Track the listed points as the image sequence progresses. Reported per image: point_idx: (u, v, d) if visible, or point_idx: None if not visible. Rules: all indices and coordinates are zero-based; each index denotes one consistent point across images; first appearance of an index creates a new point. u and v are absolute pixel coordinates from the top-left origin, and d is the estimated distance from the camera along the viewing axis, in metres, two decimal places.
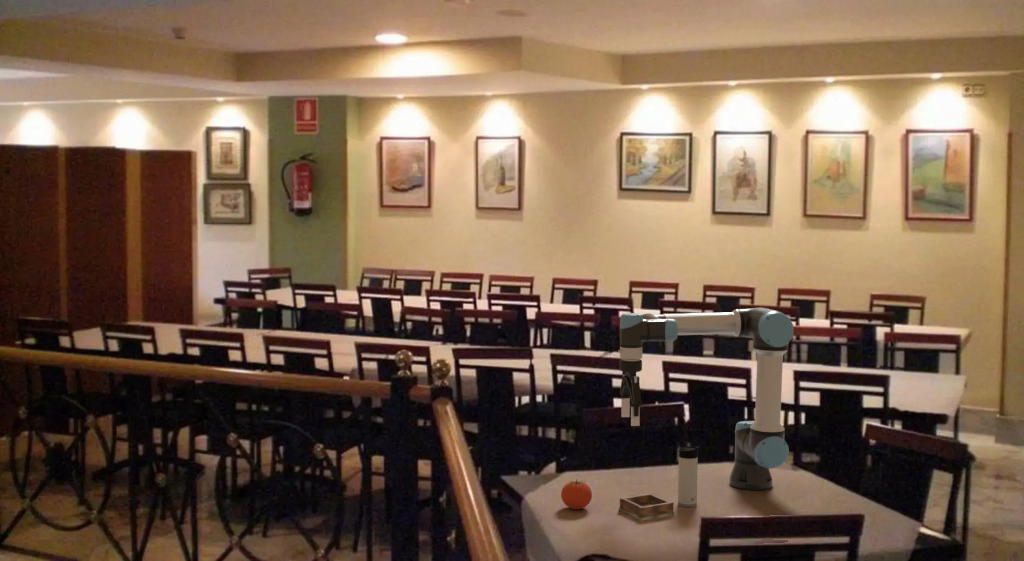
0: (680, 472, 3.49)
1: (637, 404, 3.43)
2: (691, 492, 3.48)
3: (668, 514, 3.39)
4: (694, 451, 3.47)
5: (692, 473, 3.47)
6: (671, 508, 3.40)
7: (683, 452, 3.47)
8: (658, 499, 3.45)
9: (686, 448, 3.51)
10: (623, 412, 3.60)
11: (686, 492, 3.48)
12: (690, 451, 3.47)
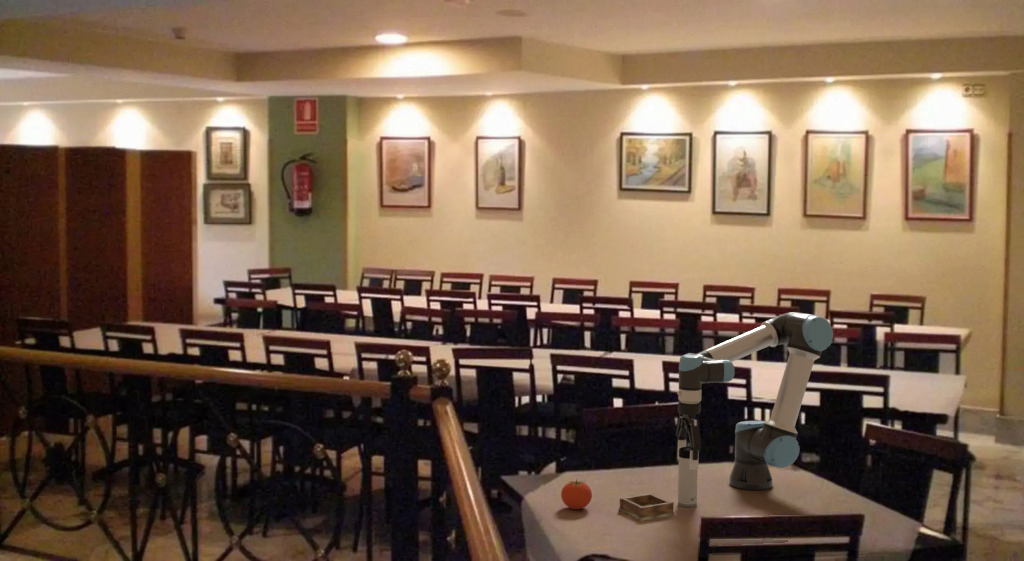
0: (680, 472, 3.49)
1: (697, 448, 3.39)
2: (691, 492, 3.48)
3: (668, 514, 3.39)
4: None
5: (692, 473, 3.47)
6: (671, 508, 3.40)
7: (683, 452, 3.47)
8: (658, 499, 3.45)
9: (686, 448, 3.51)
10: None
11: (686, 492, 3.48)
12: None
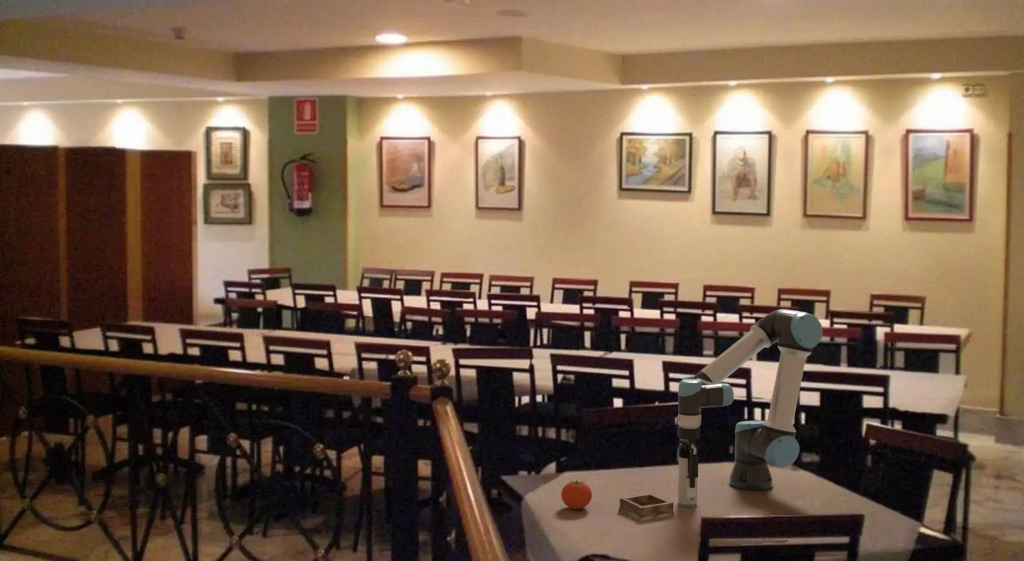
0: (680, 472, 3.49)
1: (694, 476, 3.44)
2: None
3: (668, 514, 3.39)
4: None
5: None
6: (671, 508, 3.40)
7: (683, 452, 3.47)
8: (658, 499, 3.45)
9: None
10: None
11: (686, 492, 3.48)
12: None
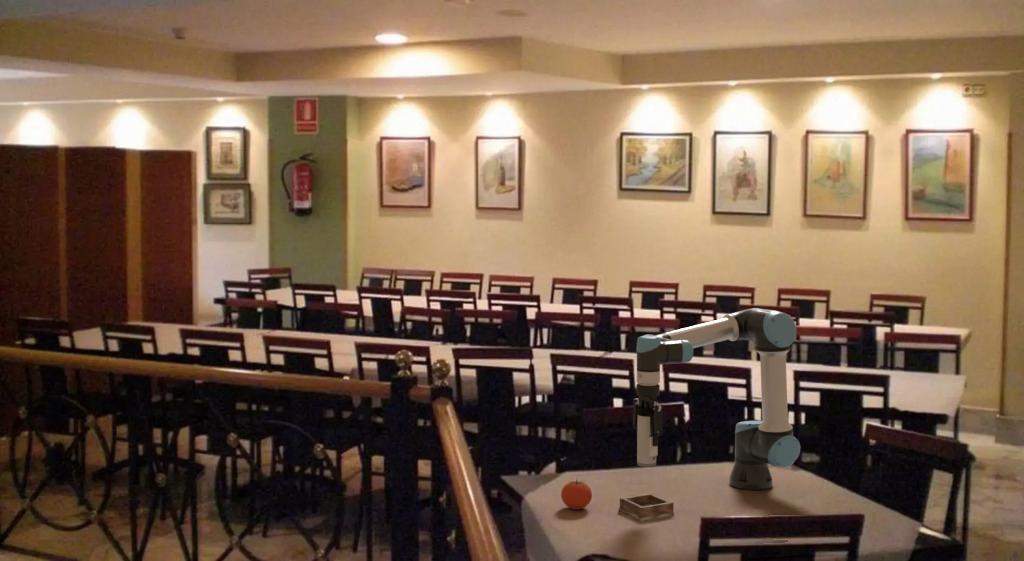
0: (641, 431, 3.38)
1: (659, 434, 3.35)
2: None
3: (668, 514, 3.39)
4: None
5: None
6: (671, 508, 3.40)
7: (645, 410, 3.37)
8: (658, 499, 3.45)
9: None
10: None
11: None
12: (652, 409, 3.37)
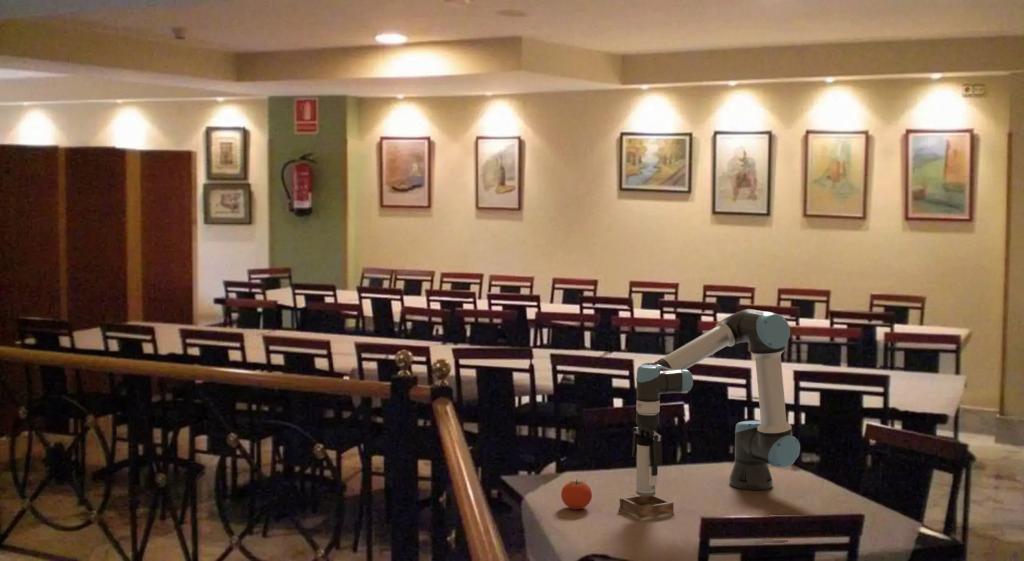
0: (640, 461, 3.39)
1: (658, 463, 3.36)
2: None
3: (668, 514, 3.39)
4: None
5: None
6: (671, 508, 3.40)
7: (644, 440, 3.38)
8: (658, 499, 3.45)
9: None
10: None
11: (648, 480, 3.39)
12: None
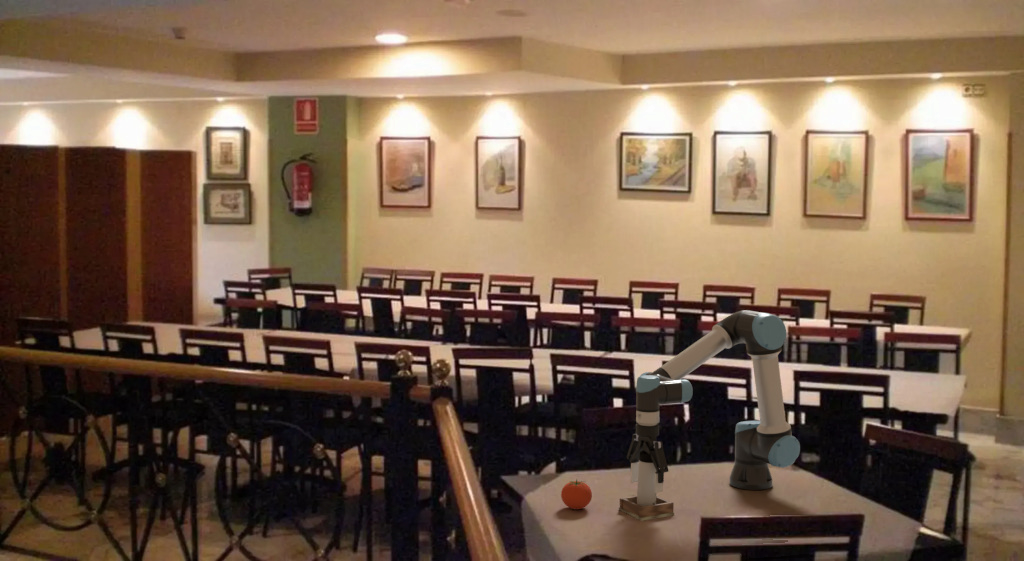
0: (642, 477, 3.39)
1: (664, 470, 3.33)
2: (653, 496, 3.40)
3: (668, 514, 3.39)
4: None
5: (654, 477, 3.39)
6: (671, 508, 3.40)
7: (646, 456, 3.38)
8: (658, 499, 3.45)
9: (645, 452, 3.42)
10: (633, 477, 3.48)
11: (649, 497, 3.39)
12: None
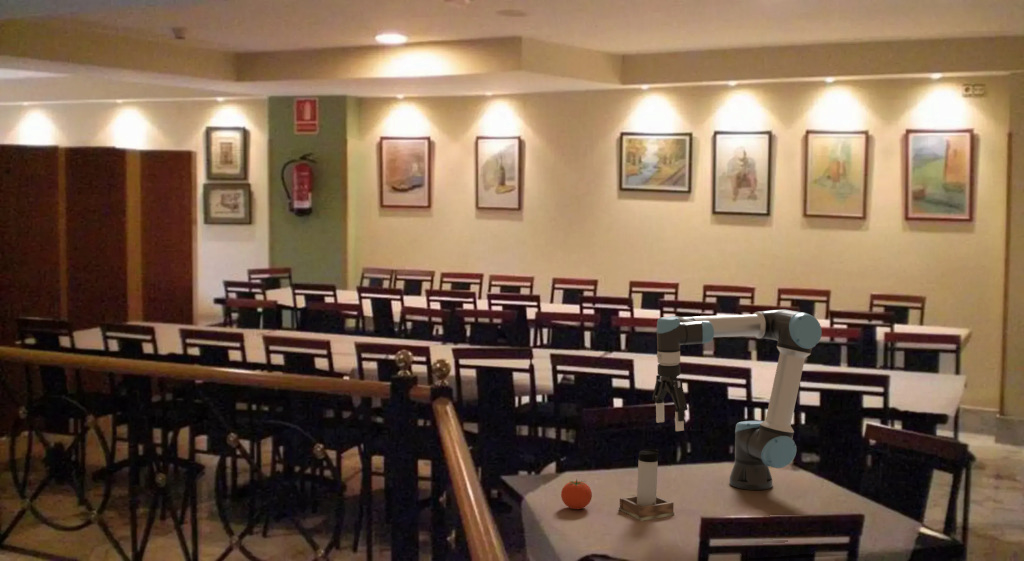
0: (642, 476, 3.40)
1: (683, 409, 3.39)
2: (653, 496, 3.40)
3: (668, 514, 3.39)
4: (656, 454, 3.40)
5: (654, 477, 3.40)
6: (671, 508, 3.40)
7: (646, 456, 3.39)
8: (658, 499, 3.45)
9: (645, 451, 3.43)
10: (658, 417, 3.55)
11: (648, 496, 3.39)
12: (653, 454, 3.39)
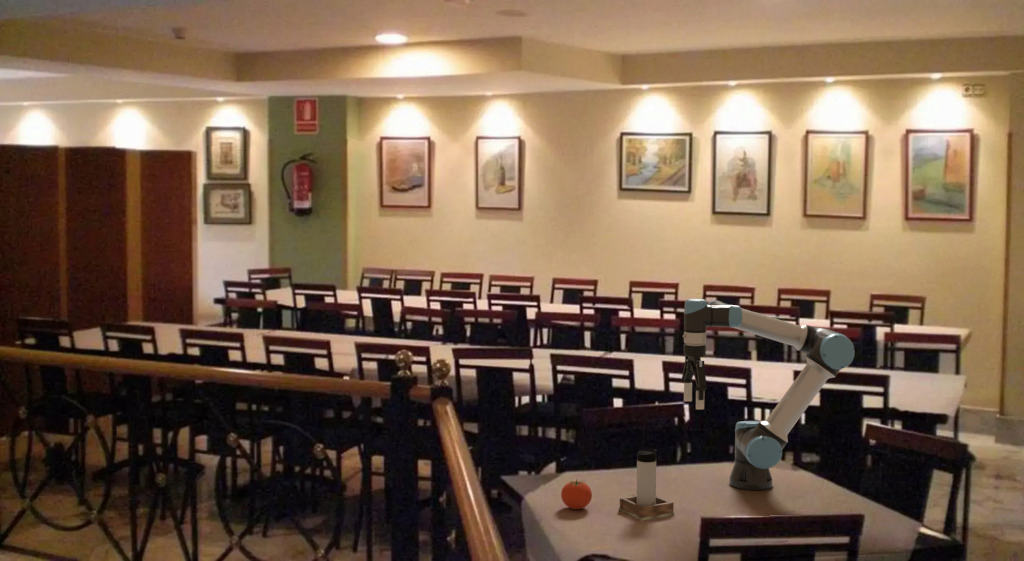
0: (640, 477, 3.40)
1: (702, 388, 3.50)
2: (652, 496, 3.40)
3: (668, 514, 3.39)
4: (654, 454, 3.40)
5: (653, 477, 3.40)
6: (671, 508, 3.40)
7: (644, 456, 3.39)
8: (658, 499, 3.45)
9: (643, 452, 3.43)
10: (685, 396, 3.66)
11: (648, 496, 3.39)
12: (651, 454, 3.39)
